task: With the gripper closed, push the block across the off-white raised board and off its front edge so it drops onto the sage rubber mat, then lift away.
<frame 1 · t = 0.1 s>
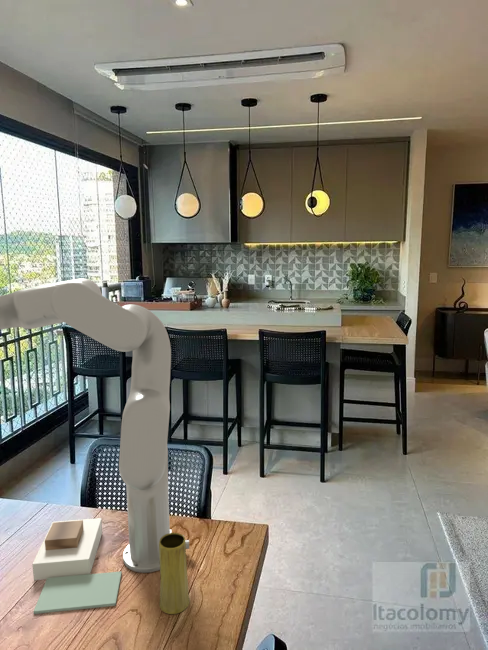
mat: (80, 592, 98), on the table
vase: (174, 604, 95), on the table
block: (65, 539, 110), point 4 cm above the table, touching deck
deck: (70, 554, 110), on the table
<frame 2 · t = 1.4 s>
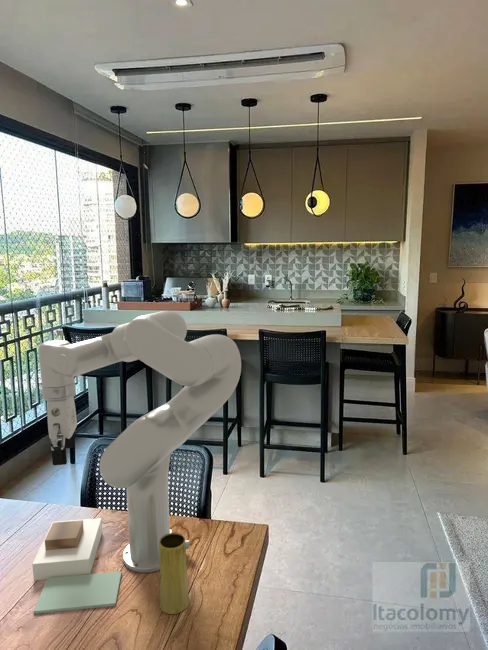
hand: (64, 455, 117), 21 cm above the table, tool pointing down, fingers open, 9 cm apart
nothing on the table moved.
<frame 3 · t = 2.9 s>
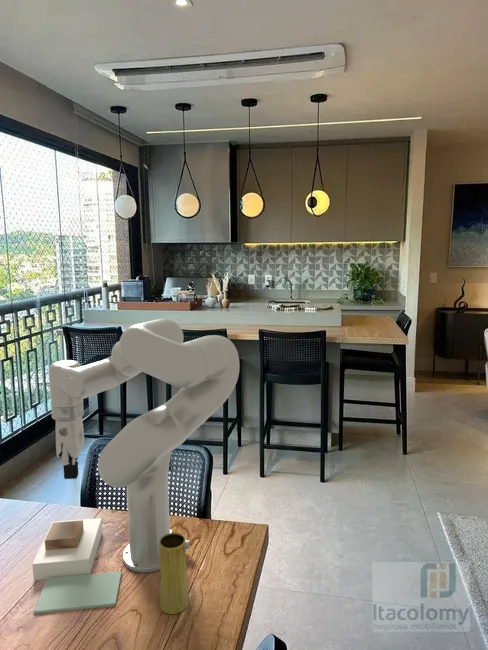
hand: (71, 477, 119), 14 cm above the table, tool pointing down, fingers closed
nothing on the table moved.
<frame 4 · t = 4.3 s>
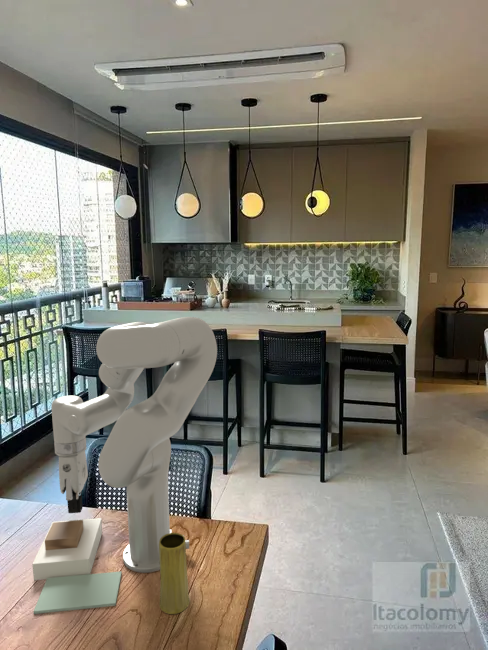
hand: (75, 511, 120), 5 cm above the table, tool pointing down, fingers closed
nothing on the table moved.
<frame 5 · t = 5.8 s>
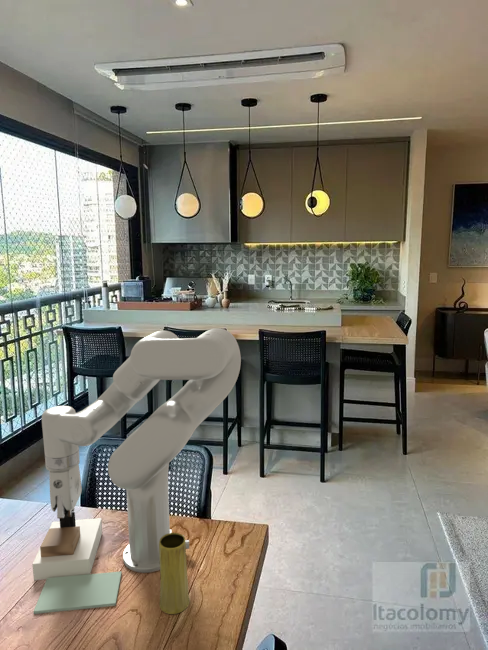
hand: (68, 529, 112), 5 cm above the table, tool pointing down, fingers closed
block: (61, 546, 107), point 4 cm above the table
everything else where it was.
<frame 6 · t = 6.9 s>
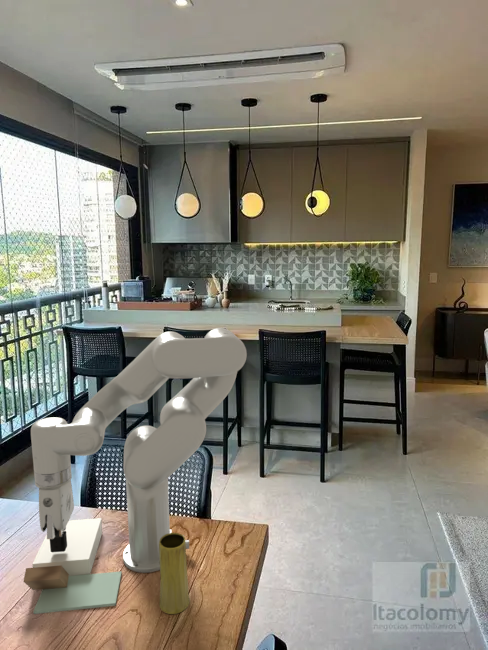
hand: (59, 549, 105), 5 cm above the table, tool pointing down, fingers closed
block: (48, 571, 98), point 5 cm above the table, tilted 129°, touching mat
everything else where it was.
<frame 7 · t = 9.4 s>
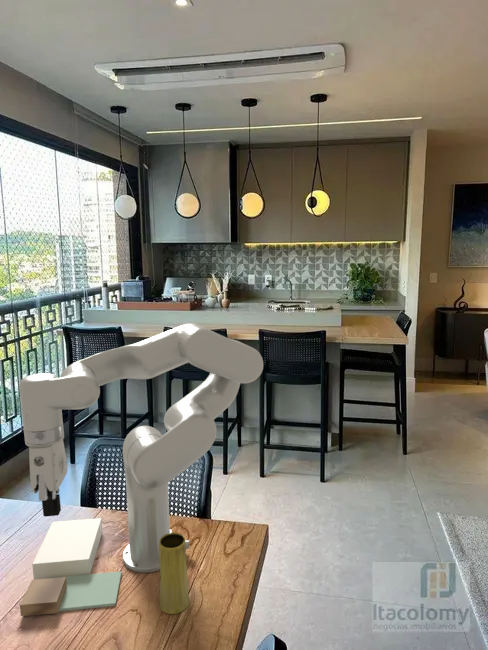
hand: (52, 513, 99), 16 cm above the table, tool pointing down, fingers closed
block: (43, 590, 95), point 3 cm above the table, tilted 180°, touching mat
everything else where it was.
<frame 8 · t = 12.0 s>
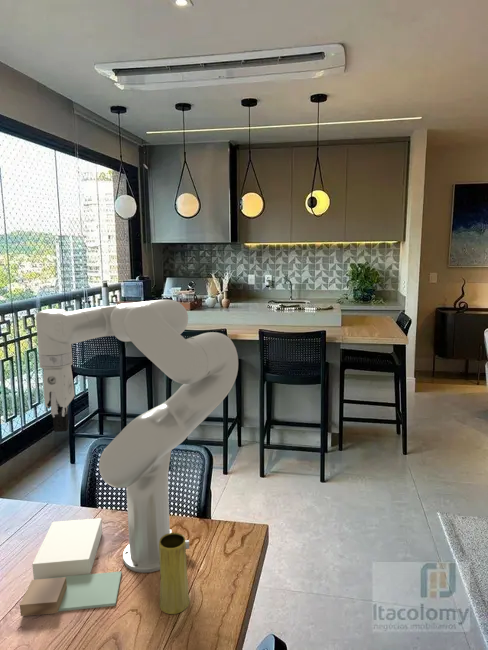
hand: (61, 430, 116), 27 cm above the table, tool pointing down, fingers closed
nothing on the table moved.
at the end: block inside the target area (5.7 cm from its centre), point 3.1 cm above the table; block touching mat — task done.
